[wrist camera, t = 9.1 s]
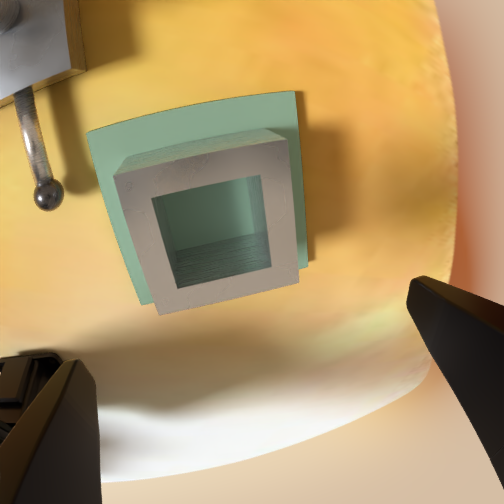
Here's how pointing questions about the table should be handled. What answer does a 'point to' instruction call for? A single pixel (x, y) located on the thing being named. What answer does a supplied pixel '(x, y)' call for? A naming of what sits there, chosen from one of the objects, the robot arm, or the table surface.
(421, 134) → the table surface
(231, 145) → the hollow square block
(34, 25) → the vise block
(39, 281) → the table surface
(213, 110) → the felt pad
